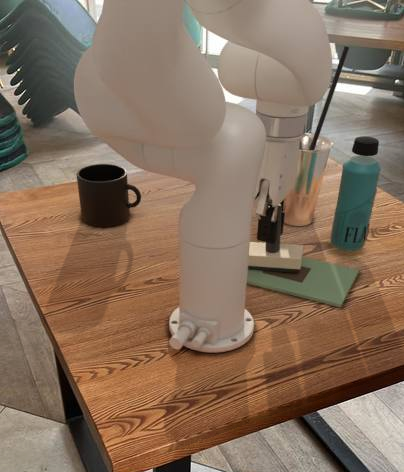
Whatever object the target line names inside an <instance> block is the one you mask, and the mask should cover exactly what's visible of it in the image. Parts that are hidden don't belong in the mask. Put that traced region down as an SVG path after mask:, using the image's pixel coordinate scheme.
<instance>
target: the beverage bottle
mask: <svg viewBox="0 0 404 472" xmlns="http://www.w3.org/2000/svg"><path fill="white" fill-rule="evenodd" d="M379 144H380V141H379V139H378V138H375V137H372V136H365V135H363V136H362V135H361V136H357V137H355V138H354V141H353V145H352V147H351V152H352V153H353V154H355V155H354V156H352V157H350V158H348V159H347V160H346V161H345V162H343V164H342V171H341V176H340V181H339V182H340V183H339V187H338V188H339V189H338V194H337V200H336V206H335V208H334V209H335V210H334V215H333V221H332V224H331V231H330V240H329V241H330V244H331V245H332V246H333V247H334V248H336V249H338V250H340V251H341V250H342V251H346V252H355V251H359V250H362V249H363V248H364V246H365V245H366V242H367V237H368V232H369V230H370V222H371V219H372V215H373V208H374V207H375V205H374V204H375V203H376V202H375V201H376V196H377V192H378V185H379V181H380V180H379V179H380V173H381V172H382V171H381V170H382V167H381V166H380V163H379V162H378V161H377V160H376V159H375V158H373V156H374V157H375V156H377V155H378V153H379Z"/></svg>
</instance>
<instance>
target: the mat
mask: <svg viewBox="0 0 404 472" xmlns="http://www.w3.org/2000/svg"><path fill="white" fill-rule="evenodd" d="M359 272H360V269H357V268H353V267H348V266H345V265H340V264H335V263H331V262H327V261H322V260H318V259H314V258H308V257H306V256H303V258H302V263H301V269H299V272H298V273H295V272H281V271H267V270H253V269H248V274H247V285H251V286H254V287H259V288H263V289H266V290H270V291H275V292H278V293H282V294H286V295H289V296H290V295H291V296H293V297H298V298H301V299H306V300H310V301H314V302H317V303H322V304H326V305H329V306H333V307H337V308H342V306H343V303H344V302H345V300H346V299H347V296H348V295H349V292H350V290H351V288H352V286H353V285H354V282H355V280H356V278H357V277H358V274H359Z"/></svg>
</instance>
